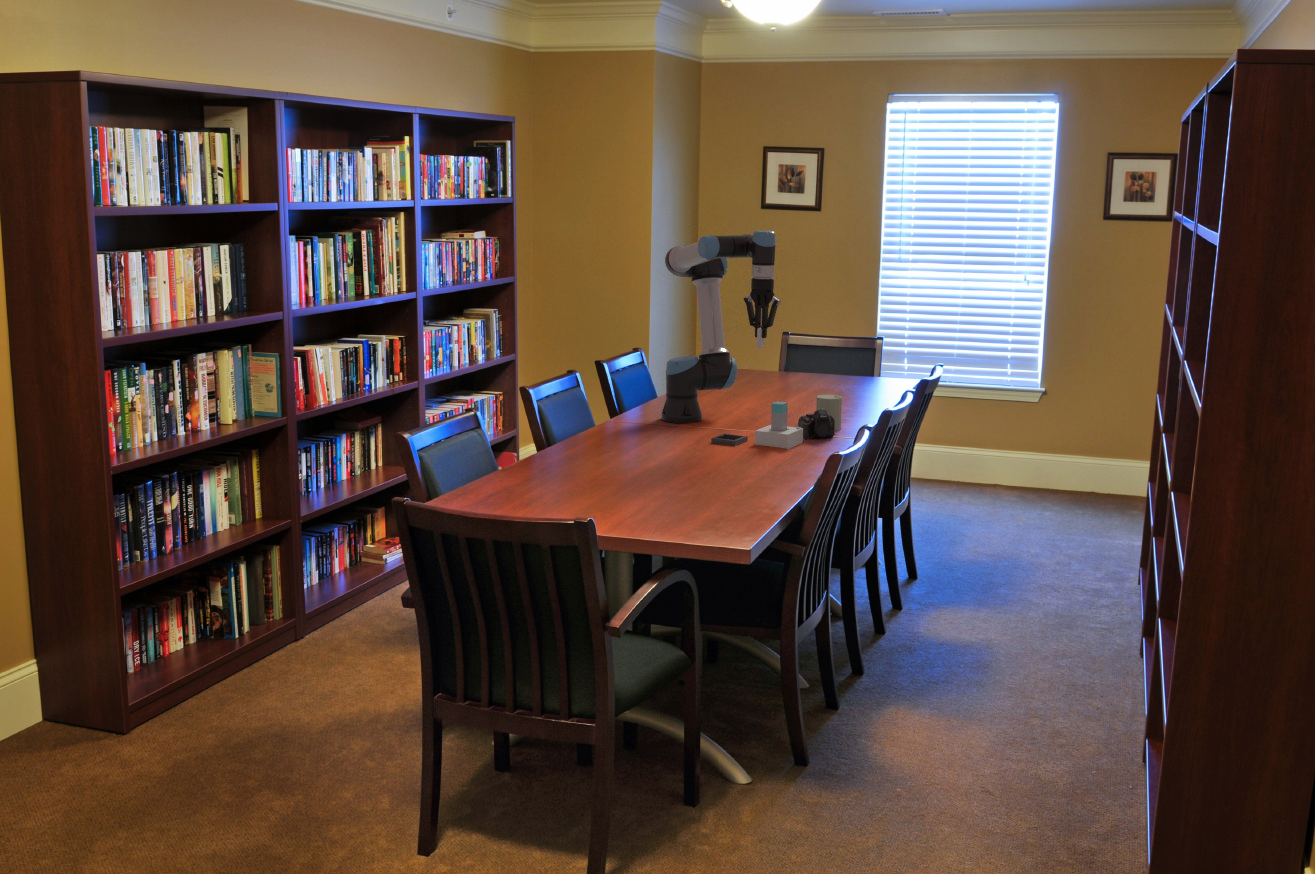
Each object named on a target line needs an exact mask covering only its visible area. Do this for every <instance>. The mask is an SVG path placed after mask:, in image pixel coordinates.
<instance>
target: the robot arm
mask: <svg viewBox="0 0 1315 874" xmlns="http://www.w3.org/2000/svg"><path fill="white" fill-rule="evenodd" d="M776 242H777V241H776V234H775V231H773V230H754V232H753V233H752V234H747V233H746V234H741V235H738V234H736V235H735V234H734V235H712V234H710V235H702V236H701V237H699V240H698V241H697V242H693V243H691V244H689V245H688V244H687V245H677V246H674V247H672V248H670V249H669V250H668V251H667V252H666V255H665V257H664V263H665V267H666V269H667V270H668V271H669V273H671V274H672V275H673V276H676V277H679V278H690V279H691V284H692V285H694V286H695V288H696V298H697V308H698V316H699V317H698V319H699V320H698V321H699V327H700V328H699V329H700V339H701V340H700V342H701V349H702V350H701V352H700V353H699V354H698V356H696V355H680V356H676V357H672V358H670V359H668V360H667V362H666V369H665V382H666V383H665V384H666V385H665V394H666V395H665V402H664V405H663V407H662V411H661V421H663V422H666V423H673V424H689V423H690V424H692V423H697V422H700V421H702V420H703V412H702V409H701V405H700V403H699V401H698V400H699V399H698V394H699V393H698V391H713V390H715V391H716V390H725V389H729V388H732V386H734V384H735V382H736V380H737V375H738V365H737V364H738V363H737V362H736V359H735V358H734V357H732V356H731V354H730V351H729V350H728V349H727V348H726V343H725V335H724V332H725V331H724V321H723V309H722V301H721V291H720V290H721V289H720V284H721V283H722V281H723V277H724V276H725V275H726V274H727V271H728V266H729V265H728V258H729V259H731V258H732V259H734V258H735V259H738V258H743V259H745V258H749V259H751V277H752V278H751V283H750V285H751V288H750V289H751V291H750V292H749V295H748V296H747V297H744V298H743V301H744V303H745V305H746V311H747V315H748V321H749V326H750V327H753V328H754V337H755V338H756V348H758V349H762V348H764V347H765V339H767V337H768V329H769V328H772V327H773V325H774V321H775V317H776V314H777V311H778V307H779V305H780V304H781V302H782V301H781V299H779V298H777V297H775V293H774V289H775V279H774V277H775V260H776V259H775V258H776V244H777V243H776ZM753 303H754V304H753ZM770 303H772V304H771V306H770ZM769 308H770V310H769Z"/></svg>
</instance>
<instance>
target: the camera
mask: <svg viewBox="0 0 1315 874" xmlns="http://www.w3.org/2000/svg"><path fill="white" fill-rule="evenodd" d="M797 427H801V428H803V439H806V440H809V439H828V438H833V437H834V436H835V433H836V432H835V420H834V418H833V416H830V415H828V413H827V411H826V410H824V408H822V409H819V408H818V410H817V411H814V412H813V413H806V414H805V415H801V416H799V418H798V423H797Z"/></svg>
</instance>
